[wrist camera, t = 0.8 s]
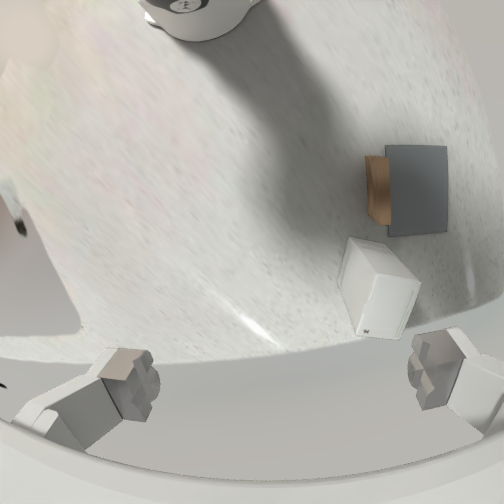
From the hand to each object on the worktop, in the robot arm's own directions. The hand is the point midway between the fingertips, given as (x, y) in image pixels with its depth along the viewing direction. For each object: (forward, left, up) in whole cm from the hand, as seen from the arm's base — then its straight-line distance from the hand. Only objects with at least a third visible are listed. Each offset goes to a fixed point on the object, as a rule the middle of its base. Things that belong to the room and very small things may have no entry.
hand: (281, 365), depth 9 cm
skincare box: (+13, +11, -38) cm, 41 cm away
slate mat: (+2, +22, -37) cm, 43 cm away
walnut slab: (+1, +14, -38) cm, 40 cm away
